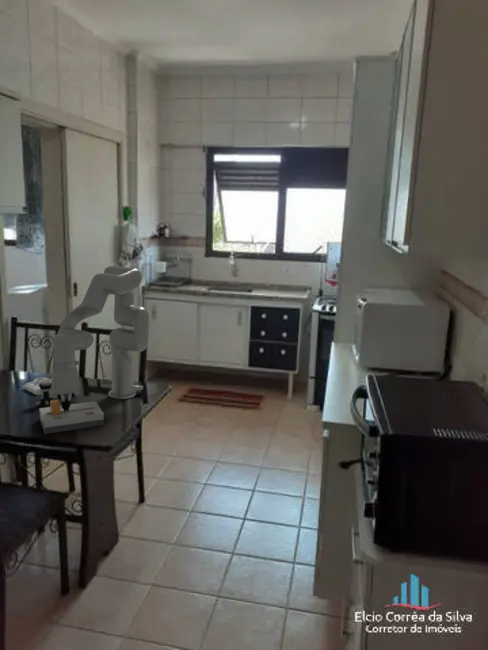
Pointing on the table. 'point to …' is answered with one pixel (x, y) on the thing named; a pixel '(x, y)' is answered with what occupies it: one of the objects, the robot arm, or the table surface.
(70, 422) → the switch panel
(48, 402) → the push button
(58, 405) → the lever
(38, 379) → the knuckle duster
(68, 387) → the robot arm
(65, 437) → the table surface
